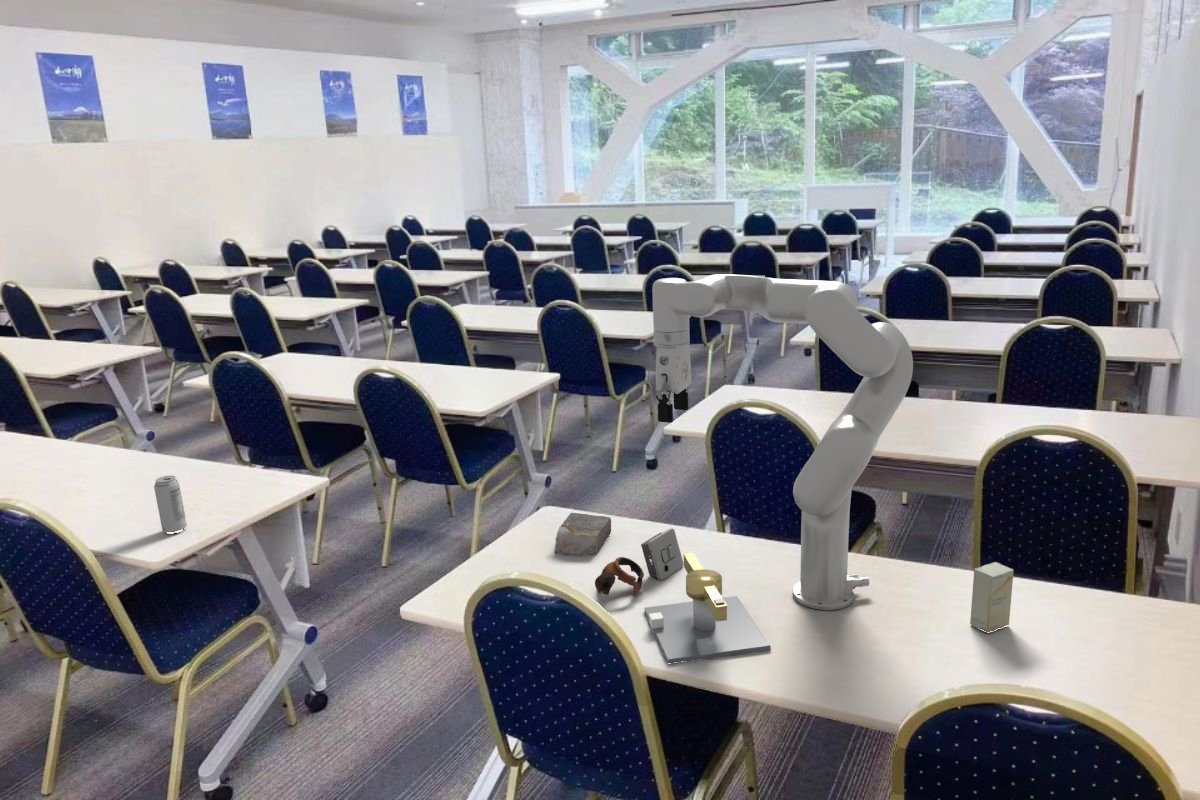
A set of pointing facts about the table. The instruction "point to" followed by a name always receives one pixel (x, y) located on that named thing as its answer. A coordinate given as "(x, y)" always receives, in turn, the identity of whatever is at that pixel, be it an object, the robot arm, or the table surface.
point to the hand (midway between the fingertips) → (673, 415)
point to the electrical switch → (662, 554)
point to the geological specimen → (582, 534)
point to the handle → (705, 586)
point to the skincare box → (991, 596)
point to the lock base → (704, 631)
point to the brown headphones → (619, 576)
